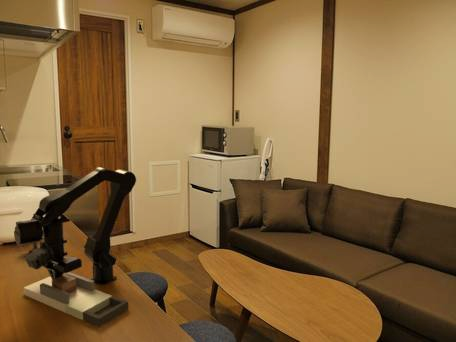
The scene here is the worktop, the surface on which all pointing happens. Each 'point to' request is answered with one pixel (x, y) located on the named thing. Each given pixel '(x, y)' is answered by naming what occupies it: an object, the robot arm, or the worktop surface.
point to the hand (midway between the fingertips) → (56, 284)
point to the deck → (70, 299)
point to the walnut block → (65, 283)
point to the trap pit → (106, 312)
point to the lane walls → (63, 295)
